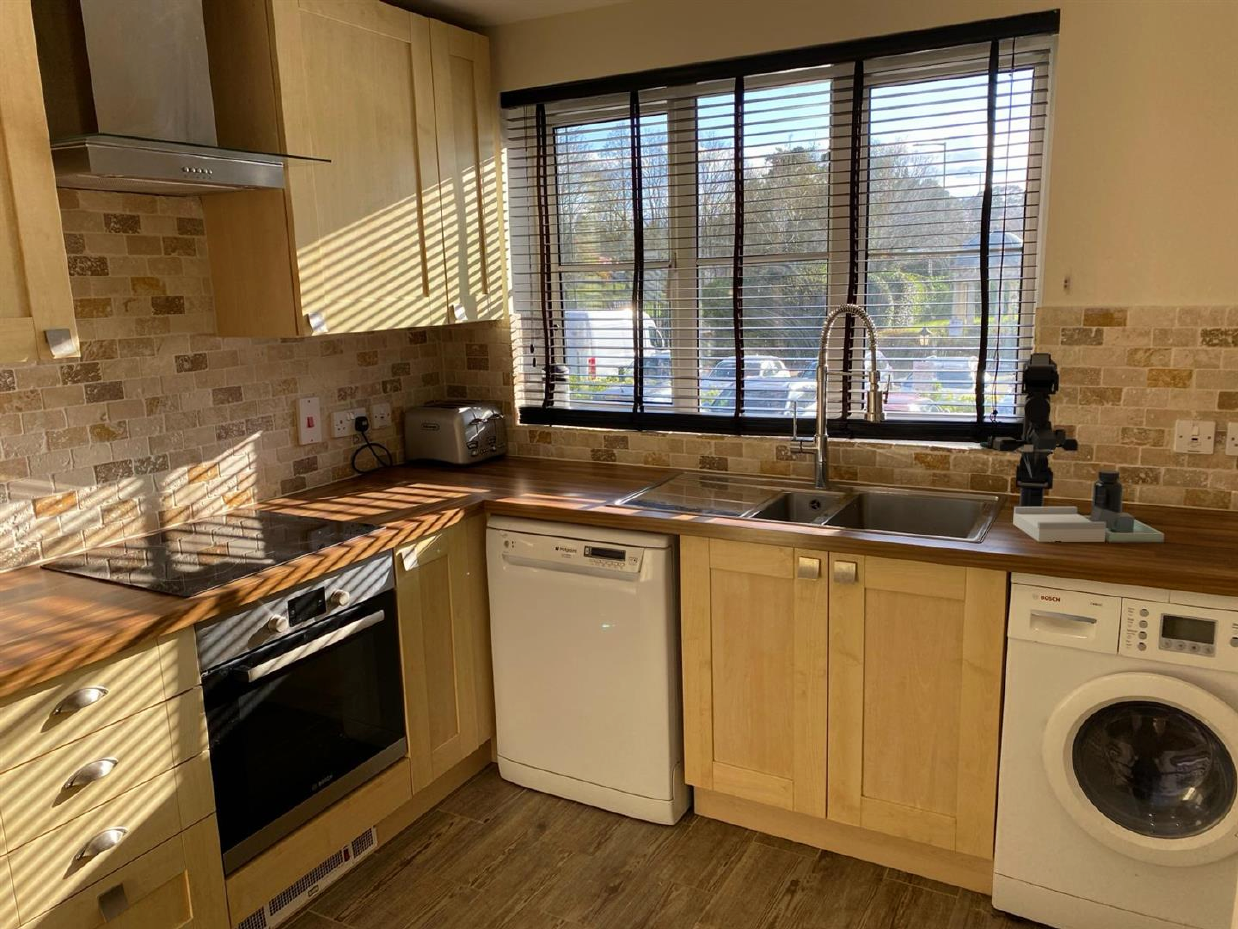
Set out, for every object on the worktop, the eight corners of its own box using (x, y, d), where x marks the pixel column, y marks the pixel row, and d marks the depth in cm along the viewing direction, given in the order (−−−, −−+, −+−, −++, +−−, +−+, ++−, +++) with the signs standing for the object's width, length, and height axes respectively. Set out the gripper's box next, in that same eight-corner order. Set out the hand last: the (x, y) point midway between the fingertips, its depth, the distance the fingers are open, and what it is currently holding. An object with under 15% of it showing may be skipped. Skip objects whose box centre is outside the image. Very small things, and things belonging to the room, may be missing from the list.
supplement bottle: (1104, 512, 241) (1108, 468, 239) (1127, 518, 235) (1130, 472, 233) (1085, 515, 239) (1088, 470, 237) (1107, 521, 232) (1110, 474, 230)
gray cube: (1109, 512, 222) (1126, 512, 222) (1108, 528, 223) (1125, 528, 223) (1117, 516, 218) (1134, 516, 218) (1115, 532, 219) (1133, 532, 219)
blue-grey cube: (1088, 521, 223) (1094, 505, 222) (1104, 525, 223) (1110, 510, 222) (1095, 525, 219) (1101, 509, 218) (1112, 529, 219) (1118, 514, 218)
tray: (1077, 523, 231) (1078, 515, 230) (1126, 523, 230) (1127, 515, 229) (1110, 542, 213) (1110, 533, 213) (1163, 542, 212) (1164, 533, 212)
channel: (1013, 524, 231) (1014, 506, 231) (1074, 523, 230) (1075, 506, 229) (1038, 541, 215) (1039, 523, 214) (1104, 541, 214) (1106, 523, 213)
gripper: (1009, 420, 218) (1005, 484, 221) (1090, 420, 217) (1085, 484, 220) (994, 414, 229) (990, 475, 232) (1070, 414, 228) (1066, 475, 231)
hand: (1033, 477), depth 228 cm, fingers closed
